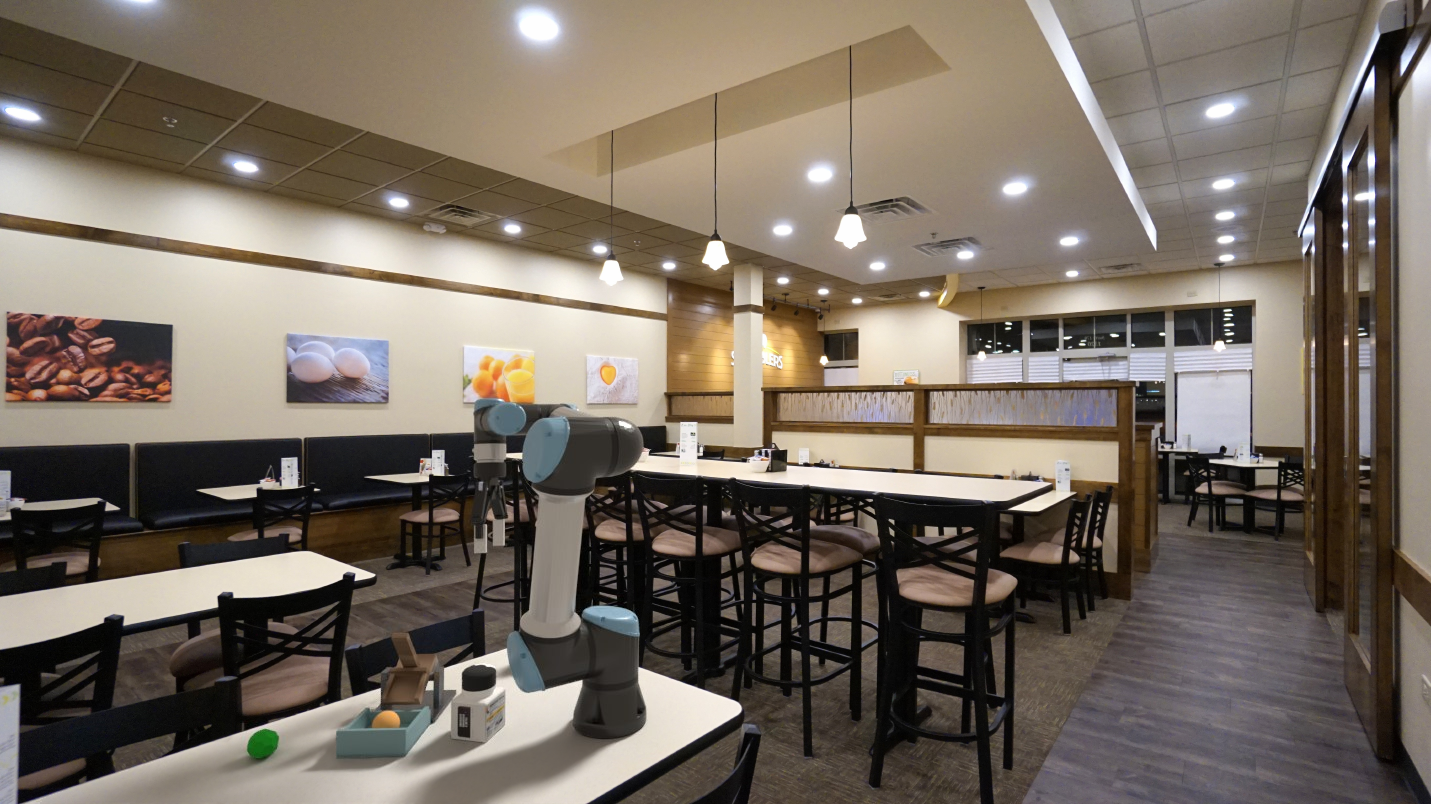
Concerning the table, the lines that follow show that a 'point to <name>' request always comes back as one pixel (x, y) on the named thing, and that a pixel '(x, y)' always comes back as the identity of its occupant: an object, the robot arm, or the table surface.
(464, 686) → the container
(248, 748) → the polyhedron
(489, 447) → the robot arm
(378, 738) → the tray
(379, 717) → the ball
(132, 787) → the table surface
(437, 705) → the stand
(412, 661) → the brown wooden catapult
